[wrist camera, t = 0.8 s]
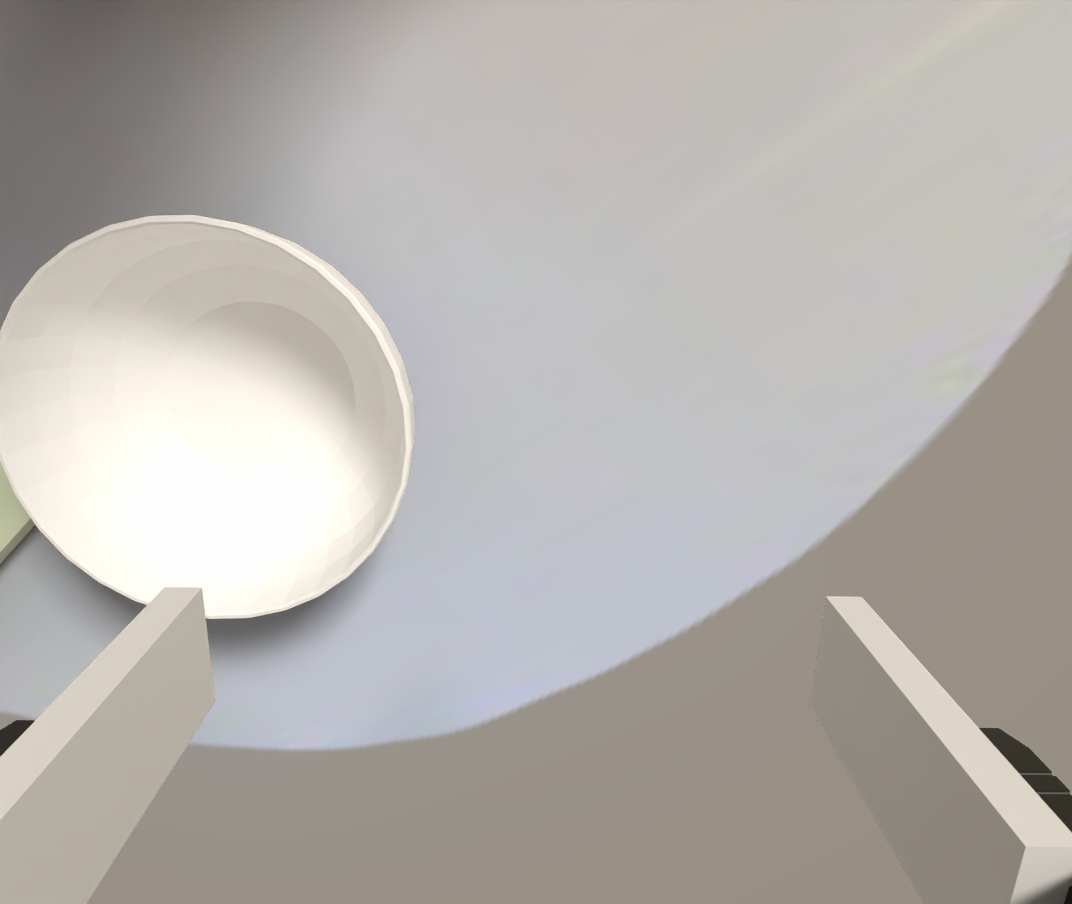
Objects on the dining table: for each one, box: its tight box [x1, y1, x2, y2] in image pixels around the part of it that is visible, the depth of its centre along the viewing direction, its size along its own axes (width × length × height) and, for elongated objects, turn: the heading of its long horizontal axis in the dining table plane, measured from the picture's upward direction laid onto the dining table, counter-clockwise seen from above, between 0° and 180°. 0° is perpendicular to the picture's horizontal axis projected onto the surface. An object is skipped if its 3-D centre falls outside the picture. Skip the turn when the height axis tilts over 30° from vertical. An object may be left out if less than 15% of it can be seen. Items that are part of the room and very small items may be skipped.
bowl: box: [0, 215, 415, 619], centre depth 38 cm, size 19×19×9 cm
